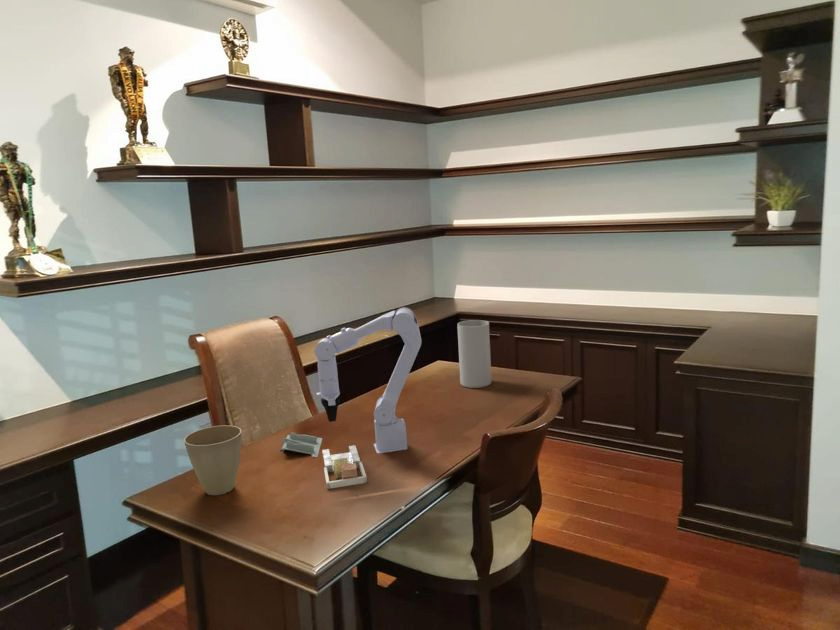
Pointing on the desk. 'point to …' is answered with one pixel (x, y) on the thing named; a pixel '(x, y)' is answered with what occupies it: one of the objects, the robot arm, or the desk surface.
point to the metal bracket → (302, 444)
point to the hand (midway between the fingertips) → (332, 420)
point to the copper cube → (349, 470)
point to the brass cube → (339, 466)
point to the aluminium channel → (351, 457)
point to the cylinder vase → (474, 353)
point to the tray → (346, 481)
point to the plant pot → (215, 457)
